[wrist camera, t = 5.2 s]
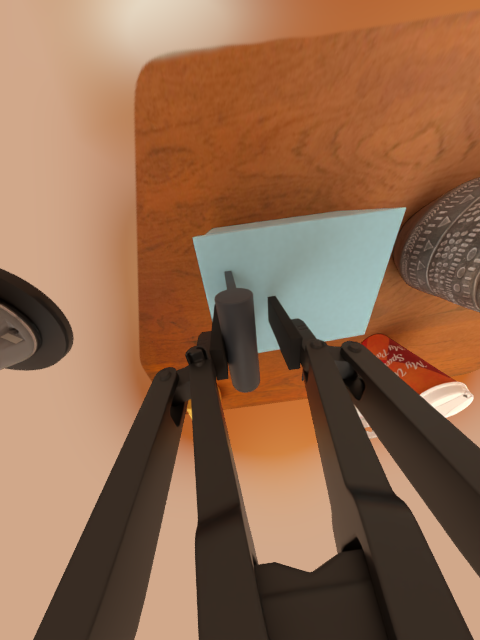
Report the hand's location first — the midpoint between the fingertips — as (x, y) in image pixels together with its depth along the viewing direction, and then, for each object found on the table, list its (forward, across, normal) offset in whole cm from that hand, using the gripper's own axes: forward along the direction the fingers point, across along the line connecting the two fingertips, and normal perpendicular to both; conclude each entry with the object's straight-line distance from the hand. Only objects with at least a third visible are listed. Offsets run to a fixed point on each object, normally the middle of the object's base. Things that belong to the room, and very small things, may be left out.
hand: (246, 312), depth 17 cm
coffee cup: (+13, +28, -20) cm, 37 cm away
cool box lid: (+3, +6, 0) cm, 6 cm away
